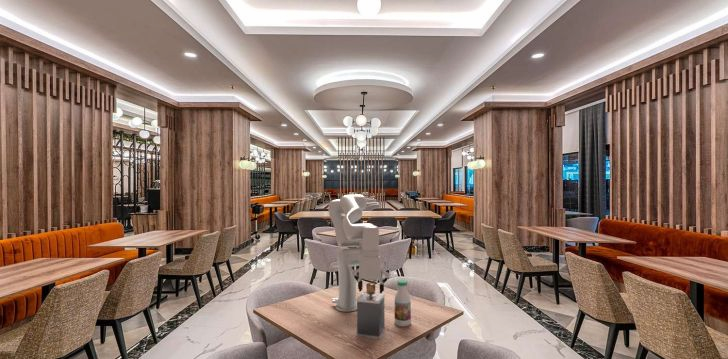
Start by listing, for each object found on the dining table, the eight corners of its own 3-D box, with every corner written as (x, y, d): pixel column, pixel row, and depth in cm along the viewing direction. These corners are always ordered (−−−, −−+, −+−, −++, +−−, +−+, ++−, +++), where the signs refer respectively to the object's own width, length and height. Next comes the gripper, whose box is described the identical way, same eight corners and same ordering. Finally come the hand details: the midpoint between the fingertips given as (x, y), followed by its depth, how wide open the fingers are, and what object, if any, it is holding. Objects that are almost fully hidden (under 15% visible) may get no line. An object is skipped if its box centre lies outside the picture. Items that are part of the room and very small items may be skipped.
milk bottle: (393, 320, 152) (392, 279, 153) (408, 319, 153) (408, 278, 153) (396, 327, 144) (395, 283, 145) (412, 326, 145) (412, 283, 145)
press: (356, 336, 136) (356, 299, 136) (365, 323, 148) (364, 289, 149) (379, 339, 133) (379, 301, 133) (386, 326, 145) (386, 291, 146)
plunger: (359, 332, 137) (359, 286, 137) (365, 324, 145) (364, 280, 145) (377, 334, 134) (377, 287, 135) (382, 326, 142) (381, 282, 143)
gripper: (349, 253, 139) (350, 292, 139) (387, 256, 134) (387, 296, 134) (355, 250, 147) (355, 287, 146) (391, 252, 142) (391, 290, 141)
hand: (370, 291), depth 140 cm, fingers open, 9 cm apart
